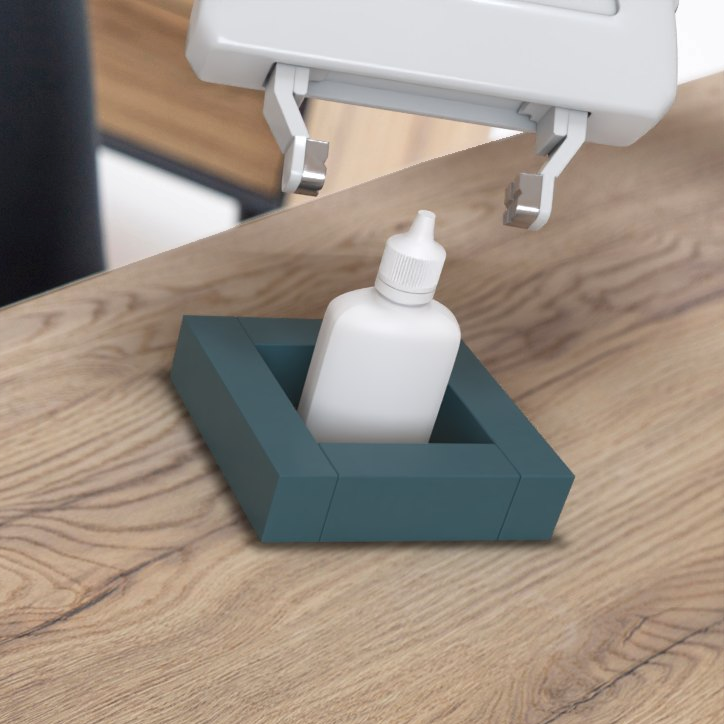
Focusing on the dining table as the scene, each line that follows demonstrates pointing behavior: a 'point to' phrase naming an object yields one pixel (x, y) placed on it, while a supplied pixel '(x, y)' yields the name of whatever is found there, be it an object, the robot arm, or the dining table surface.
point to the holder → (361, 447)
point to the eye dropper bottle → (385, 350)
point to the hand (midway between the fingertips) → (414, 207)
